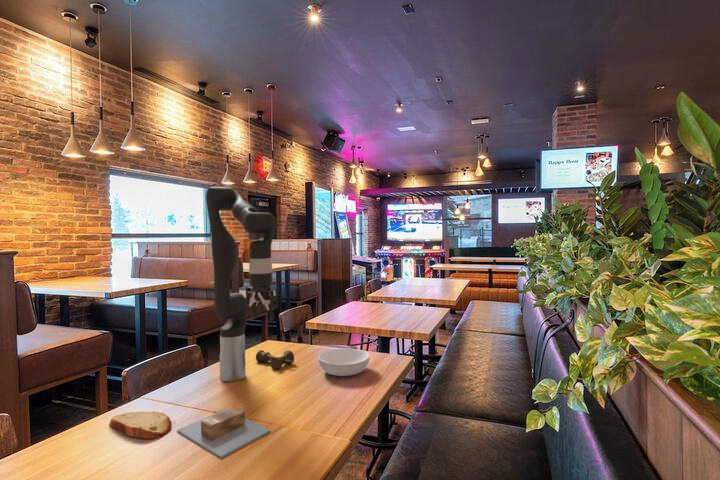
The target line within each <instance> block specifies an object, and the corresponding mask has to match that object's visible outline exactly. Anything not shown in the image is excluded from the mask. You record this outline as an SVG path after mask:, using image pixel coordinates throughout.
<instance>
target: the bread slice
mask: <svg viewBox="0 0 720 480" xmlns="http://www.w3.org/2000/svg"><path fill="white" fill-rule="evenodd" d="M108 426H109V427H110V428H111V429H112V430H115V431H116V432H118V433H121V434H122V435H125V436H128V437H131V438H136V439H145V440H155V439H160V438H163V437H165V436H166V435H167V434H169V433H170V432H171V431H172V419H171V418H170V417H169V415H167V414H165V413H164V412H160V411H134V412H133V411H132V412H126V413H125V412H124V413H121V414H117V415H114V416H113V417H111V419H110V422H109V424H108Z"/></svg>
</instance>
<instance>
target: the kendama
mask: <svg viewBox="0 0 720 480" xmlns="http://www.w3.org/2000/svg"><path fill="white" fill-rule="evenodd" d="M255 360H256V362H258V363H260V362H264V363H268V362H269V363H270V367H271V369H272V370H275V371H278V370H280V368H281V367H282V365H284V364H286V365H291V364H294V363H295V354H294V353H293V351H291V350H289V349H287V350H284V351H283V354H282V355H281V356H274V355H272V354H271V352H269V351H268V352H265V351H264V350H263V349H260V350H258V351H257V352H256V354H255Z"/></svg>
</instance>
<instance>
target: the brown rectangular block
mask: <svg viewBox="0 0 720 480" xmlns="http://www.w3.org/2000/svg"><path fill="white" fill-rule="evenodd" d="M245 418H246V412H245V410H243V409H240V408H238V407H236V406H233V407H231V408H229V409H227V410H226V411H224V412H222V413H219V414H217V415H215V416H212V417H209V418H207V419H205V420H203V421H201V435H202V436H203V437H205V438H207V439H208V440H210V441H212V440H214V439H217V438H219V437H221V436H223V435H225V434H227V433H229V432H231V431H233V430H235V429H237V428H239V427H241V426H243V425H245Z"/></svg>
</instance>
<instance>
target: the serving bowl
mask: <svg viewBox="0 0 720 480" xmlns="http://www.w3.org/2000/svg"><path fill="white" fill-rule="evenodd" d="M318 363H319V366H320V368H321V369H322V370H323V371H324V372H325V373H327V374H329V375H332V376H336V377H349V376H354V375H357V374H360V373H361V372H363V371H364V370H365V369H366V368H367V367H368V365H369V363H370V353H368V352H367V351H365V350H363V349H357V348H350V347H349V348H347V347H346V348H344V347H343V348H342V347H341V348H334V349H333V348H332V349H329V350H325V351H323V352H321V353H320V354H319V355H318Z"/></svg>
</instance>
